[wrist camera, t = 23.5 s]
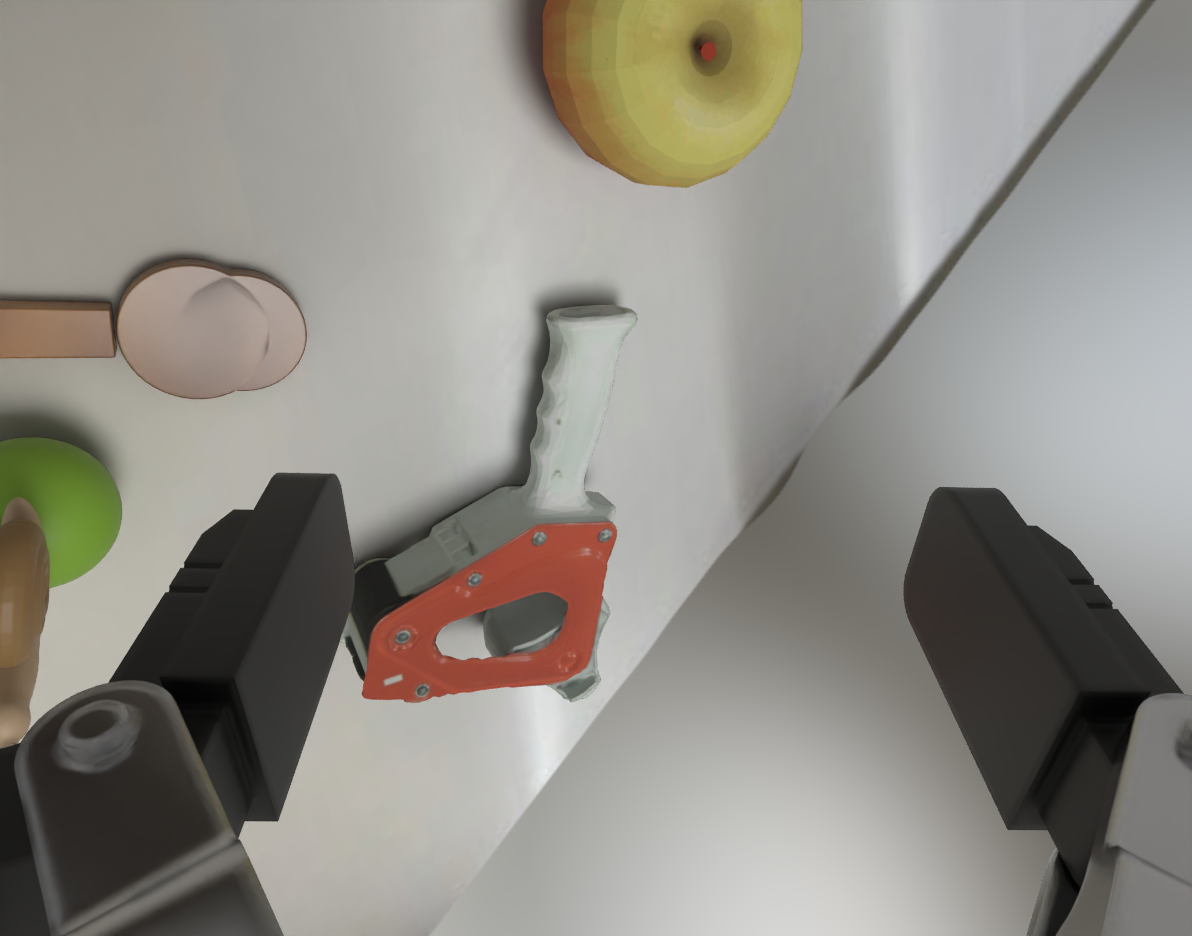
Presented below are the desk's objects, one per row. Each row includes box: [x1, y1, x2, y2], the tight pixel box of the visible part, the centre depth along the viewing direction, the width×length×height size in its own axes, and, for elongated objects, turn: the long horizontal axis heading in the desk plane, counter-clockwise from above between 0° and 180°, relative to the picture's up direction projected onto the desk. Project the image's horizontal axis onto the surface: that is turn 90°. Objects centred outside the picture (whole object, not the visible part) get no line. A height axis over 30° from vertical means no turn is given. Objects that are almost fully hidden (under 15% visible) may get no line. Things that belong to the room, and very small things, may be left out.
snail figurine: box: [0, 437, 122, 748], centre depth 27 cm, size 5×6×12 cm
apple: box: [543, 0, 802, 188], centre depth 30 cm, size 10×10×8 cm
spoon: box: [0, 259, 307, 399], centre depth 28 cm, size 20×5×1 cm, turn 79°
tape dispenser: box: [340, 305, 637, 703], centre depth 40 cm, size 18×5×20 cm
